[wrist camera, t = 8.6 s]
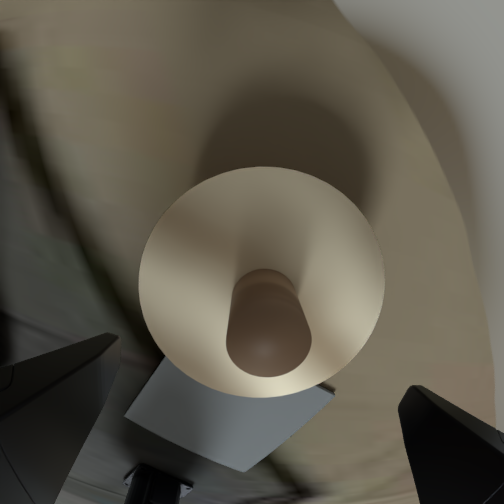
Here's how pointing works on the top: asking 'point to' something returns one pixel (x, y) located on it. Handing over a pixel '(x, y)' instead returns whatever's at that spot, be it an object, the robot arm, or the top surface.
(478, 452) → the robot arm
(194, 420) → the mat
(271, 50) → the top surface
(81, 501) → the top surface
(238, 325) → the lid
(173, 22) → the top surface
